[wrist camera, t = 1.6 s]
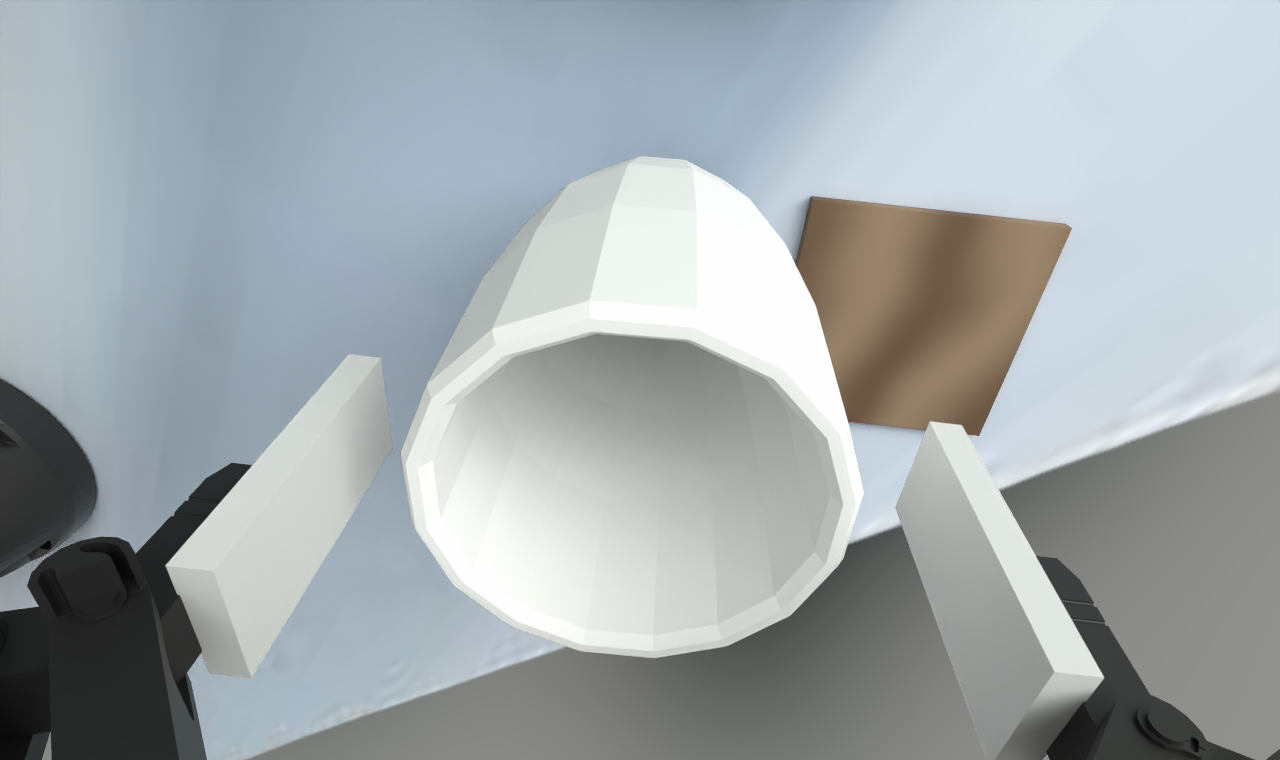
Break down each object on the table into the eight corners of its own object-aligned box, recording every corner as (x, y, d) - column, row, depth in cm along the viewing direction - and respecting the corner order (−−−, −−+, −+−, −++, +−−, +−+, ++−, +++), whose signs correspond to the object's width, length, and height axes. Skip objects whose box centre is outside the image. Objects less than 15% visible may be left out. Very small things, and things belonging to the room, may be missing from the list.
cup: (623, 331, 36) (559, 712, 18) (509, 158, 32) (270, 432, 14) (806, 241, 33) (953, 594, 15) (708, 34, 29) (746, 175, 10)
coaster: (763, 406, 38) (764, 412, 38) (811, 196, 32) (813, 200, 31) (975, 429, 38) (979, 435, 38) (1065, 223, 32) (1071, 228, 31)
